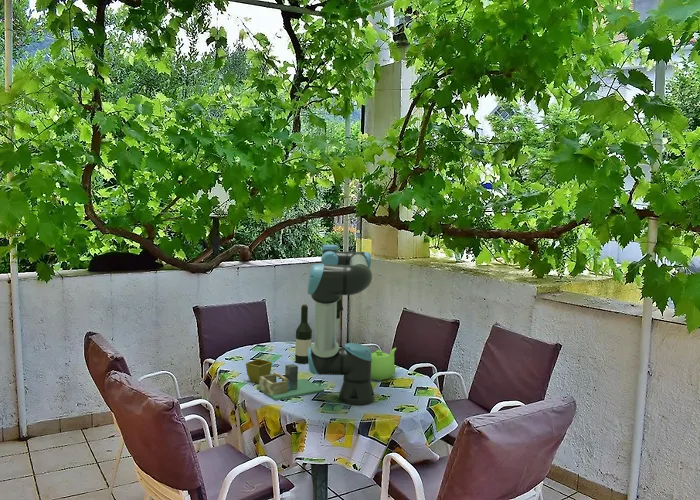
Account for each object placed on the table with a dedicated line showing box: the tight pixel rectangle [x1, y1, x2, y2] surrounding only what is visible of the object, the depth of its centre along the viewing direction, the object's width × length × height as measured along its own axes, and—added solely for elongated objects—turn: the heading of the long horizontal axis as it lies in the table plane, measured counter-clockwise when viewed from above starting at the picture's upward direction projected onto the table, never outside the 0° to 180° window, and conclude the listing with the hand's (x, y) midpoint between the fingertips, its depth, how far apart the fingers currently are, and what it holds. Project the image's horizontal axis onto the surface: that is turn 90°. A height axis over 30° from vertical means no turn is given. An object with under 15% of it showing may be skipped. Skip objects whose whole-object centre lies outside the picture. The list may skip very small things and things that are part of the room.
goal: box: [258, 371, 288, 395], centre depth 258 cm, size 12×8×6 cm, turn 34°
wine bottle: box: [294, 304, 313, 365], centre depth 306 cm, size 8×8×30 cm
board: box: [256, 378, 325, 402], centre depth 262 cm, size 18×24×1 cm
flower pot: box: [245, 358, 273, 384], centre depth 273 cm, size 9×9×9 cm
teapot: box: [371, 347, 397, 381], centre depth 285 cm, size 22×15×13 cm
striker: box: [281, 363, 299, 390], centre depth 260 cm, size 5×5×10 cm
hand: (328, 322), depth 279 cm, fingers open, 13 cm apart
